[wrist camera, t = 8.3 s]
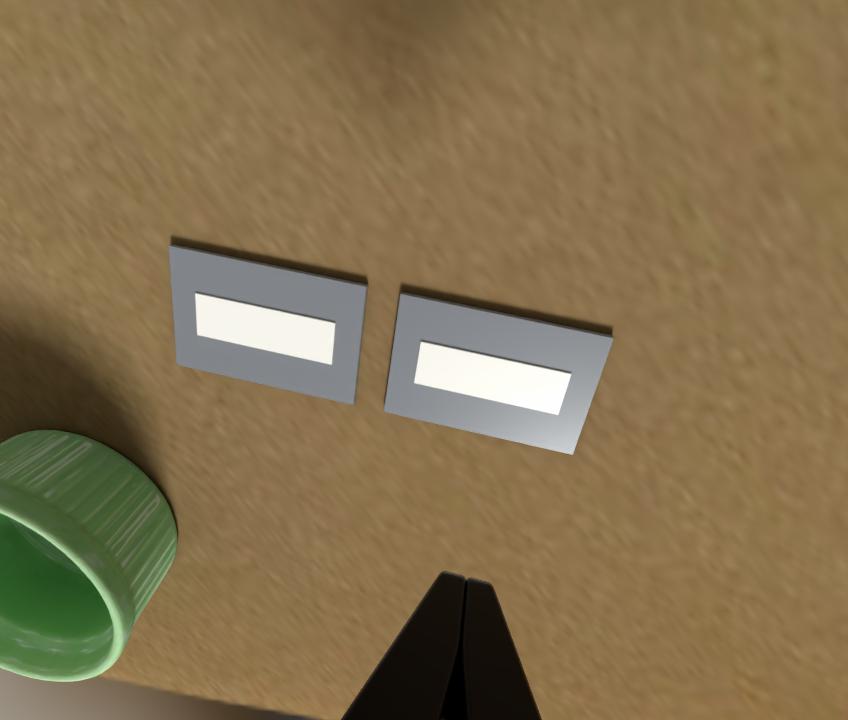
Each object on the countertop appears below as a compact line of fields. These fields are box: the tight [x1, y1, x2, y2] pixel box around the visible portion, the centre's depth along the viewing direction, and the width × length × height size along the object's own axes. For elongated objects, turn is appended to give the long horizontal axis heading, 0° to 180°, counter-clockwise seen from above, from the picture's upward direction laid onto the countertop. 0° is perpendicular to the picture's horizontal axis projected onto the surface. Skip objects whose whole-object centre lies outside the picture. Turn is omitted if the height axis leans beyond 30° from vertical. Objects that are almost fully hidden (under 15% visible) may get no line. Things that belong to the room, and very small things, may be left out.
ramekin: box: [0, 430, 177, 682], centre depth 20 cm, size 9×9×4 cm
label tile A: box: [384, 292, 614, 455], centre depth 16 cm, size 6×4×1 cm, turn 81°
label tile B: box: [169, 244, 368, 405], centre depth 16 cm, size 6×4×1 cm, turn 81°
